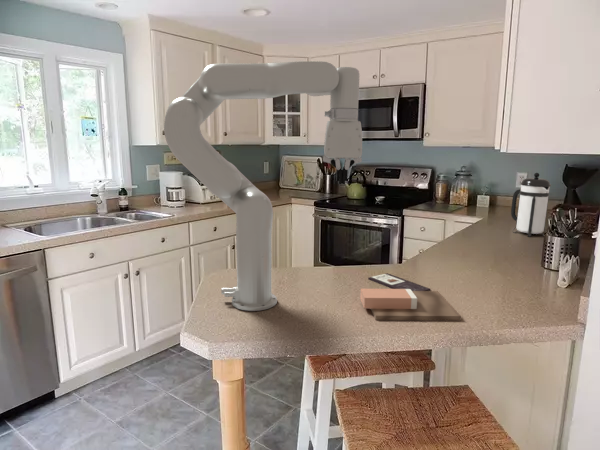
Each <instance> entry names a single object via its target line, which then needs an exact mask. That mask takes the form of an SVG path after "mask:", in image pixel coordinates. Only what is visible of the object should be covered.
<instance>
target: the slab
mask: <svg viewBox="0 0 600 450" xmlns="http://www.w3.org/2000/svg"><path fill="white" fill-rule="evenodd" d="M360 301H361V304H362V306H363V309H369V310H371V309H416V308H417V297H416V296H415V295H414V293H413V292H412V291H411V289H391V288H360Z"/></svg>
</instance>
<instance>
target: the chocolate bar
mask: <svg viewBox="0 0 600 450" xmlns="http://www.w3.org/2000/svg"><path fill="white" fill-rule="evenodd" d="M368 280H369V281H372V282H373V283H377V284H379V285H381V286H384V287H387V288H388V289H411V291H432V290H431V288H430V287H426V286H424V285H421V284H418V283H415V282H413V281H410V280H407V279H404V278H401V277H398V276H396V275H393V274H391V273H384V274H378V275H374V276H370V277H368Z"/></svg>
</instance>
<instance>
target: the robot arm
mask: <svg viewBox="0 0 600 450" xmlns="http://www.w3.org/2000/svg"><path fill="white" fill-rule="evenodd" d="M298 94H300V95H302V94H306V95H307V96H311V97H324V96H330V99H329V100H330V102H329V103H330V104H329V110H326V111H325V110H324V117H327V118H329V120H327V121H326V125H325V126H326V127H325V133H324V144H323V153H324V154H323V156H322V162H323V163H327V164H330V165H332V166H333V167H334V168H335V169H336V171H335V175H336V176H335V178H336V180H335V182H337V183H338V185H346V182H347V181H348V176H349V175H348V174H349V173H348V171H349V169H350V168H351V167H352V166H354V165H355V164H359V163H362V162H363V158H362V156H363V130H362V123H361V121H360V120H358V118H359V99H360V98H359V97H360V96H359V95H360V71H359V69H358V68H356V67H352V66H339V67H336V66H334V64H332V63H330V62H327V61H320V60H319V61H318V60H317V61H303V60H302V61H286V62H265V63H263V62H259V63H258V62H257V63H256V62H255V63H254V62H253V63H252V62H251V63H236V62H235V63H233V62H232V63H212V64H208V65H207V66H206V67H204V68H203V69H202V72H201V73H200V76H199V77H198V78H197V80H196V81H195V82H194V83H193V84H191V86H190V87H189V88H188V89H187V90H186V92H184V94H182V95H181V96H179V97H178V98H175V99H173V100H172V101H171V102H170V104H169V105H168V107H167V110H166V113H165V116H164V120H163V121H164V123H163V131H164V132H163V133H164V138H165V140H166V145H167V146H168V148H169V150H170V152H171V153H172V154H173V156H174V157H175V159H177V161H178V162H179V163H181V164H182V166H184V167H185V168H186V169H187V170H188V171H189V172H190V173H191V175H193V176H194V177H195V178H196V179H197V180H198V181H199V182H201V184H203V185H204V187H206V189H207V190H208V191H209V192H210V193H211V194H212V195H213V196H215V197H217V198H218V199H219V200H221V201H222V202H223V203H224V204H225V205H226V206H227V207H228V208H230V210H232V211H233V212H234V213H235V218H236V219H235V220H236V226H235V227H236V230H235V231H236V232H235V240H236V241H235V245H236V246H235V249H236V286H233V287H221V290H220V291H221V295H224V297H225V298H230V297H231V305H232V306H233V307H234V308H236V309H238V310H240V311H241V310H242V311H246V312H248V311H249V312H256V311H257V312H258V311H264V310H268V309H271V308H274V307H275V306H276V304H277V302H278V297H277V296H276V295H275V294H274V293H272V234H273V233H272V232H273V219H274V210H273V204H272V201H271V199H270V198H269V197H268V196H267V194H265V193H264V192H263V191H262V190H260V189H259V188H258V187H256V185H255V184H253V182H251V181H250V179H248V178H247V177H246V176H245V175H244V174H243V173H242V172H241V171H240V170H239V169H238V168H237V166H235V165H234V164H233V163H232V162H230V161H228V159H226V158H225V157H223V155H222V154H221V153H220V152H218V151H217V150H216V149H215V147H213V146H212V145H211V143H210V142H208V141H207V140H206V139H205V137H204V136H203V133H202V132H201V125H202V124H203V123H204V122H205V121H206V120H208V118H209V117H210V116H211V115H212V114H213V113H214V112H215V111H216V110H217V109H218V107H219V106H221V104H222V103H223V102H224V101H225V100H260V99H261V100H262V99H264V100H265V99H272V98H273V99H274V98H278V97H281V96H286V95H287V96H288V95H298ZM340 159H344V163H343V166H342V167H341V161H340Z"/></svg>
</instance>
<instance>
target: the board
mask: <svg viewBox="0 0 600 450" xmlns="http://www.w3.org/2000/svg"><path fill="white" fill-rule="evenodd" d="M412 292H413V293H414V295H415V296H416V297H417V308H416V309H370V311H371V313H372V316H373V317H374V318H373V319H374V320H375V321H461V319H462V316H461V314H460V313H459V312H458V311H457V310H456V308H454V307H453V306H452V305H451V304H450V302H448V300H447V299H446V298H445V297H444V296H443V295H442V294H441V292H440V291H438V290H430V291H412Z"/></svg>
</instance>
